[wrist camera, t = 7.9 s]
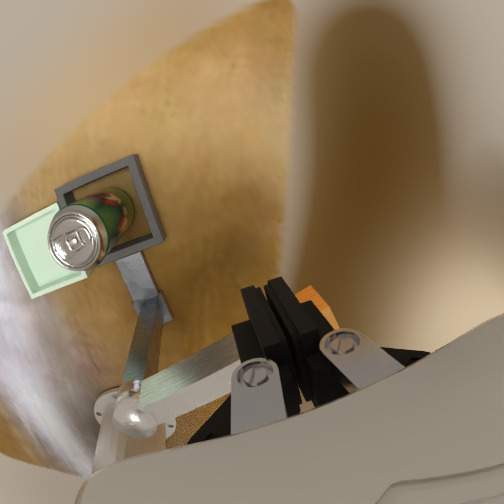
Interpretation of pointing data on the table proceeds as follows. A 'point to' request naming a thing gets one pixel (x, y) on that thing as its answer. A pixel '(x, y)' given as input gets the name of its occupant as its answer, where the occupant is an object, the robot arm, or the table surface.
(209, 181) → the table surface
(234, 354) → the bar
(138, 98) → the table surface
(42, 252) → the tray
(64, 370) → the table surface
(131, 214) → the soda can
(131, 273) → the post
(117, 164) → the collar
